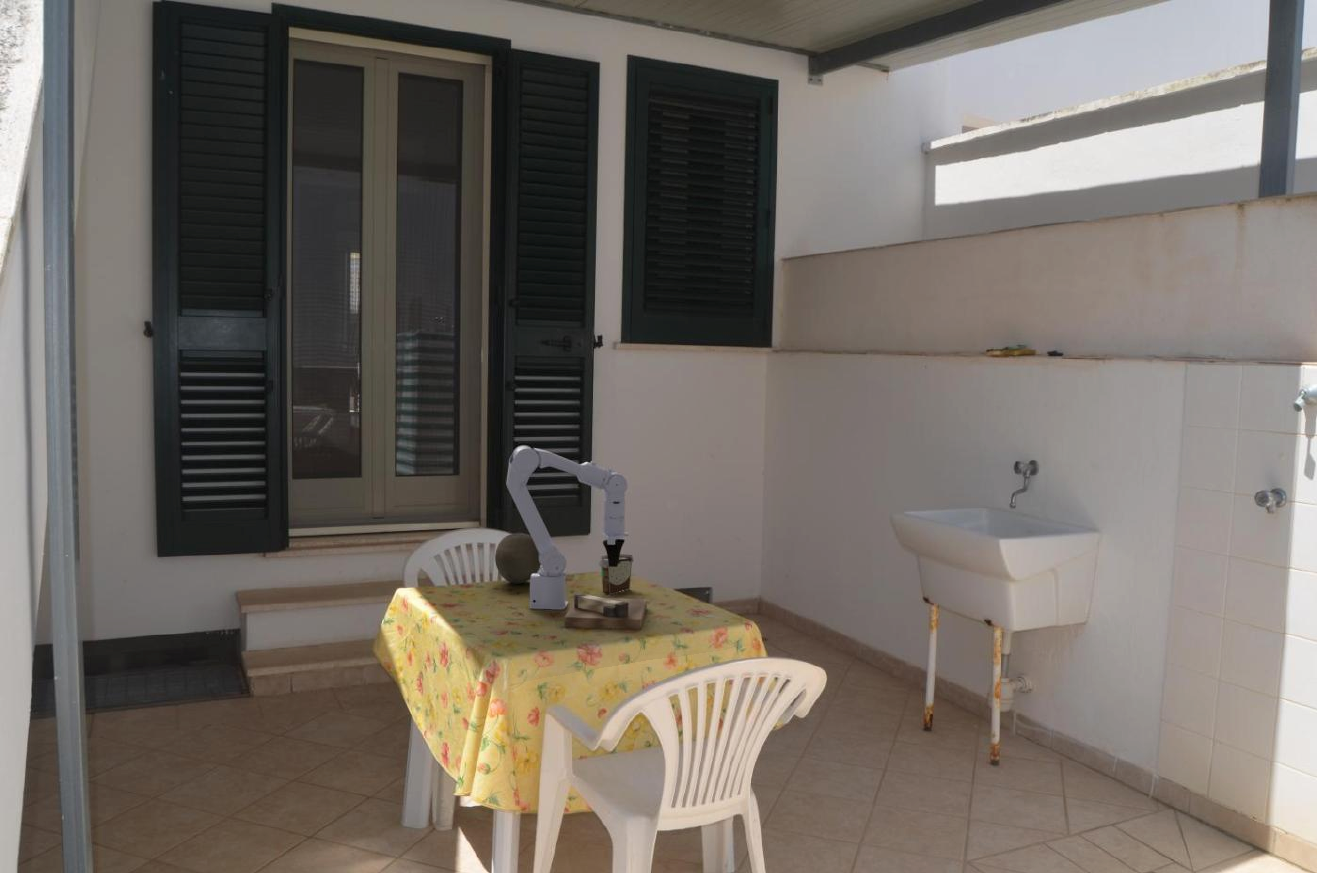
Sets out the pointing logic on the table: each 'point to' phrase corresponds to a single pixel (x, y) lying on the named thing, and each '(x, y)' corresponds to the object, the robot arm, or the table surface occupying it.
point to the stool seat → (608, 616)
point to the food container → (616, 574)
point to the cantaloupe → (517, 558)
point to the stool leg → (600, 604)
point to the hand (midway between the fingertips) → (613, 566)
